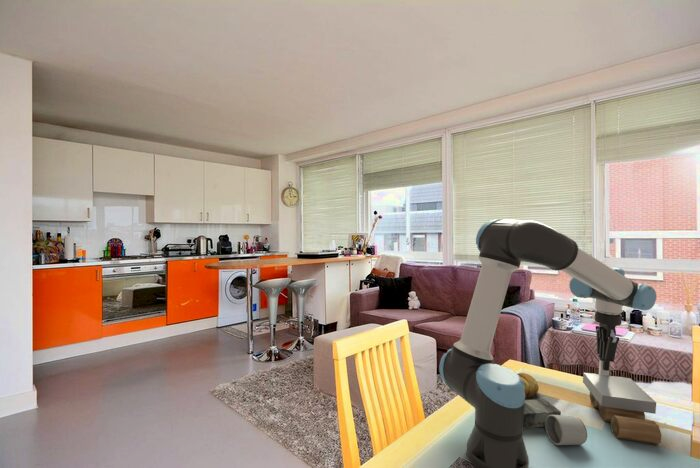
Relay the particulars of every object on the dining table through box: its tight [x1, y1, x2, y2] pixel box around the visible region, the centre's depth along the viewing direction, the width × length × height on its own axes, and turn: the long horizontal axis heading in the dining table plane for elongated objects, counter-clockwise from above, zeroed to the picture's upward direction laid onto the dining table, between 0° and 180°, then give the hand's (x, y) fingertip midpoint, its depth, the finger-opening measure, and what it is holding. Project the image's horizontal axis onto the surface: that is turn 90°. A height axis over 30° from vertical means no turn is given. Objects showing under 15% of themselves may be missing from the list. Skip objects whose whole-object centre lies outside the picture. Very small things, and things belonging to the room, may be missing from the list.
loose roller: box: [610, 415, 662, 445], centre depth 104 cm, size 6×10×6 cm, turn 74°
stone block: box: [523, 398, 562, 429], centre depth 112 cm, size 9×14×5 cm, turn 94°
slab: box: [582, 372, 657, 415], centre depth 116 cm, size 14×16×4 cm
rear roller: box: [589, 391, 599, 409], centre depth 120 cm, size 6×10×6 cm, turn 74°
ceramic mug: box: [545, 414, 588, 446], centre depth 103 cm, size 11×8×8 cm
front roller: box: [598, 404, 646, 423], centre depth 112 cm, size 6×10×6 cm, turn 74°
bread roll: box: [517, 372, 539, 398], centre depth 128 cm, size 13×10×8 cm
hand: (603, 377), depth 125 cm, fingers closed
